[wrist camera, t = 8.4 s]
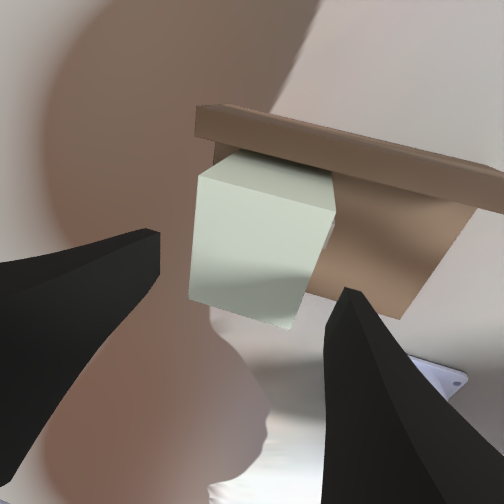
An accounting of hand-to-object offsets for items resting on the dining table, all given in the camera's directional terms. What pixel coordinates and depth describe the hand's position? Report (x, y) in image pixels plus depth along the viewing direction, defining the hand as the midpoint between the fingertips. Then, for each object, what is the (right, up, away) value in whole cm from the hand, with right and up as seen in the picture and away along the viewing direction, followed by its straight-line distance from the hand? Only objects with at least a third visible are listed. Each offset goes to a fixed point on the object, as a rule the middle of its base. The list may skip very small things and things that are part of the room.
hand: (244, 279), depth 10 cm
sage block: (+2, +4, +6) cm, 7 cm away
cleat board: (+5, +3, +7) cm, 9 cm away
